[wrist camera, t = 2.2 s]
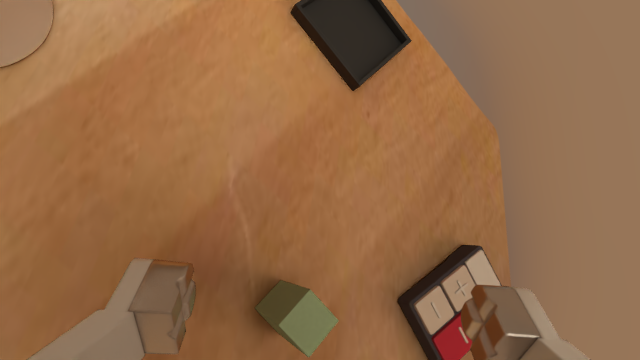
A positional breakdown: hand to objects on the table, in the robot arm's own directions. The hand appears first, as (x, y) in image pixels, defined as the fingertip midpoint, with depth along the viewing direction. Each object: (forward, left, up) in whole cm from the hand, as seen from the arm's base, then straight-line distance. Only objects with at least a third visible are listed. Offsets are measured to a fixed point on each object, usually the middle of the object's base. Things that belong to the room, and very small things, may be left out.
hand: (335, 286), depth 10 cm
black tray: (-10, +37, -35) cm, 52 cm away
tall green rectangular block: (+11, +2, -35) cm, 36 cm away
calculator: (+30, +20, -35) cm, 50 cm away
